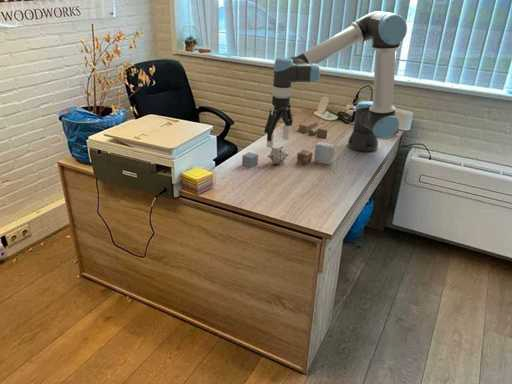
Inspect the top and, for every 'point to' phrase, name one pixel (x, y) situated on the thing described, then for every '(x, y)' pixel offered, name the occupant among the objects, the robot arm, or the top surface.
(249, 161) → the slate grey cube
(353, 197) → the top surface
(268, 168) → the top surface
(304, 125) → the wooden block set
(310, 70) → the robot arm
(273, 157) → the game die
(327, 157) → the medicine box
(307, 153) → the walnut cube
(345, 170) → the top surface
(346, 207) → the top surface
